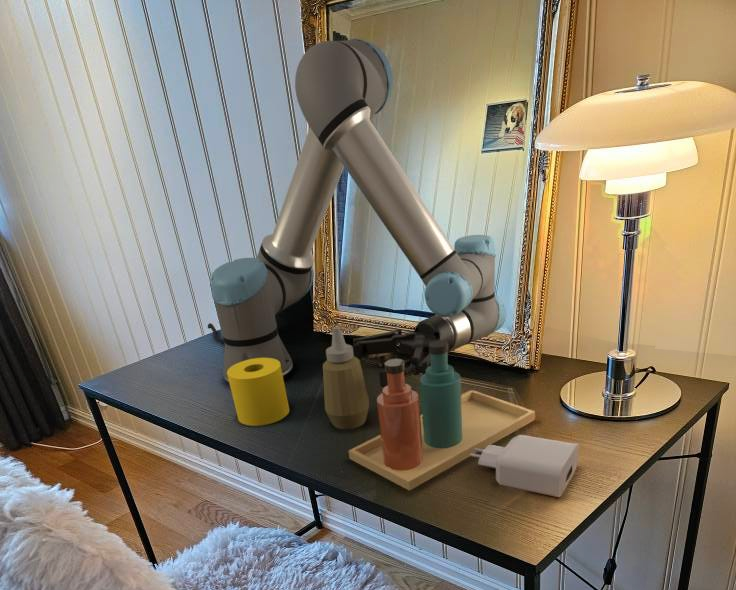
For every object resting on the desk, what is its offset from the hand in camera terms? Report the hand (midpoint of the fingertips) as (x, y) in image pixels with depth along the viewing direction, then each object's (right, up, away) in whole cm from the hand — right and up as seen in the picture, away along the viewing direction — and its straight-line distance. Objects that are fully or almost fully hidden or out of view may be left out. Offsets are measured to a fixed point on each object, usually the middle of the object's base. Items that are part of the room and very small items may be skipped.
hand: (355, 370), depth 115 cm
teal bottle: (+15, -13, -6) cm, 20 cm away
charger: (+25, -19, -16) cm, 35 cm away
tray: (+15, -13, -5) cm, 21 cm away
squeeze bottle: (-1, -9, +4) cm, 10 cm away
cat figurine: (+6, +6, +26) cm, 27 cm away
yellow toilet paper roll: (-18, -6, +12) cm, 22 cm away
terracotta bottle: (+8, -16, -10) cm, 21 cm away
